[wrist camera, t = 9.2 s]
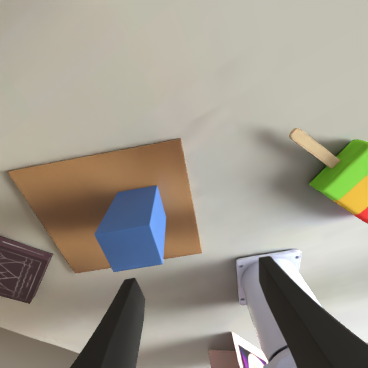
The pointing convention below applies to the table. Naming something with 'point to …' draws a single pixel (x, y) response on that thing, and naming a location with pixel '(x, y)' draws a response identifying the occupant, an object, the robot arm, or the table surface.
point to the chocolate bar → (21, 270)
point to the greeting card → (238, 356)
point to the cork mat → (109, 198)
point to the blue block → (133, 230)
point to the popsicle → (340, 173)
